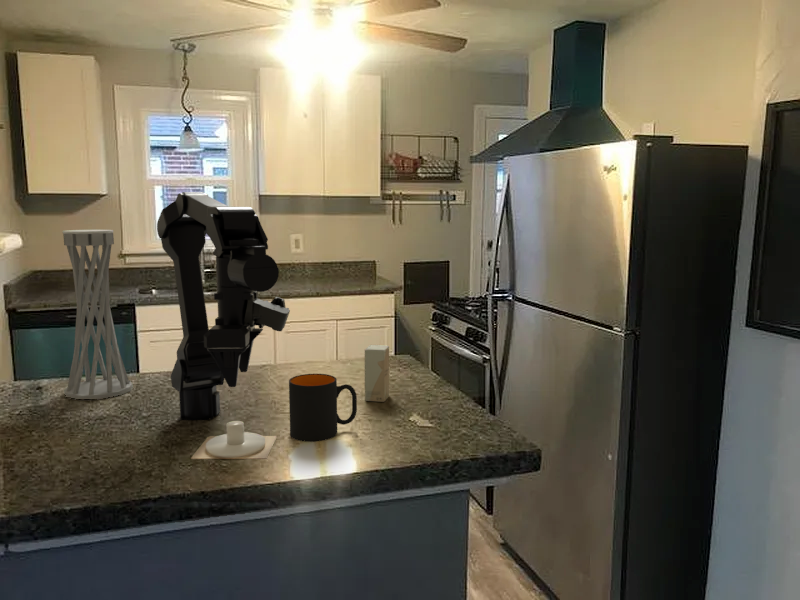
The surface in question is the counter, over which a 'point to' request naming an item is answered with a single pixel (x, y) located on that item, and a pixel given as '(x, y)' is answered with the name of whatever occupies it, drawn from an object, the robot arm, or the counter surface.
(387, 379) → the box
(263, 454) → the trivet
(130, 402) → the counter surface
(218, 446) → the lid
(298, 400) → the mug
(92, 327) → the vase
